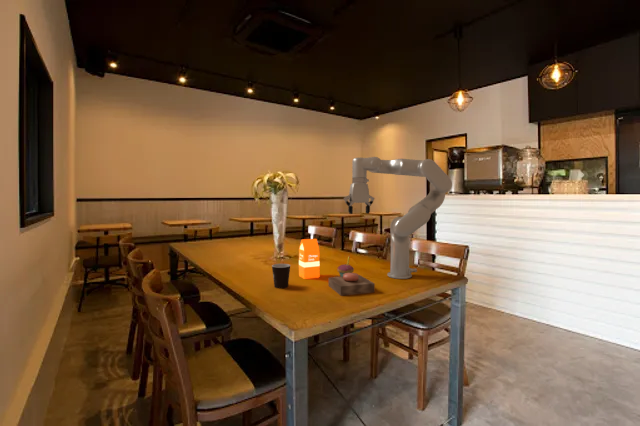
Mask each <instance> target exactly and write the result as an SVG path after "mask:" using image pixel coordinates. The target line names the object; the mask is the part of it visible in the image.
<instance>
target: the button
mask: <svg viewBox="0 0 640 426" xmlns="http://www.w3.org/2000/svg"><path fill="white" fill-rule="evenodd" d="M358 275H359V274H358V273H356V272H352V273H345V274H343V279H344V280H346V281H356V280H358Z"/></svg>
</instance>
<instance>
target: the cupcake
mask: <svg viewBox="0 0 640 426" xmlns="http://www.w3.org/2000/svg"><path fill="white" fill-rule="evenodd" d="M349 263H350V255H349V256H348V257H347V263H346V264H341V265H339V266H338V267H337V269H336V271H337V272H338V273H339V277H341V276H343V274H345V273H354V269H355V268H354V267H353V266H352V265H351V264H349Z"/></svg>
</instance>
